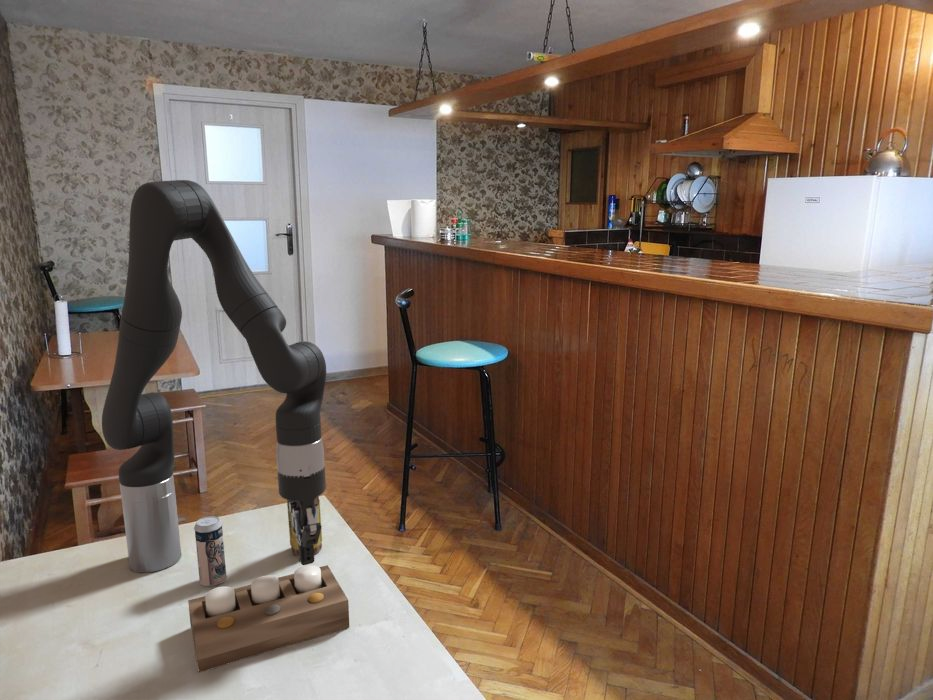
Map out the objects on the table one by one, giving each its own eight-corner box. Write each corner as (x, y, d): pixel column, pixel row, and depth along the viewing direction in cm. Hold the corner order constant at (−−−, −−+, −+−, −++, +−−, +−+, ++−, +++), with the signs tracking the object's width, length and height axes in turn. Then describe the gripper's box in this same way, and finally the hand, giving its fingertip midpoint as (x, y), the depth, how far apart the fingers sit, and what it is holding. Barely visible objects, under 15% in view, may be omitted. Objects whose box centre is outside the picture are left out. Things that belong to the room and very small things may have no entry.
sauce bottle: (298, 541, 135) (292, 450, 131) (327, 543, 134) (322, 451, 130) (285, 558, 129) (278, 462, 124) (315, 560, 128) (310, 464, 124)
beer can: (217, 589, 118) (212, 528, 115) (193, 586, 119) (187, 525, 116) (232, 575, 122) (227, 516, 120) (209, 572, 123) (203, 513, 121)
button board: (190, 627, 107) (188, 598, 106) (328, 590, 117) (327, 563, 116) (198, 672, 97) (195, 640, 95) (349, 627, 107) (348, 598, 106)
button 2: (250, 596, 109) (248, 579, 108) (276, 589, 111) (275, 573, 110) (254, 609, 105) (253, 593, 104) (282, 602, 107) (281, 585, 106)
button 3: (292, 585, 112) (291, 569, 111) (317, 578, 114) (316, 562, 113) (298, 598, 108) (297, 581, 108) (324, 591, 110) (323, 575, 110)
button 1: (205, 607, 106) (203, 590, 105) (233, 600, 108) (232, 583, 107) (208, 622, 102) (206, 605, 101) (237, 614, 104) (236, 597, 103)
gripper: (269, 456, 111) (276, 550, 114) (286, 484, 99) (293, 587, 103) (313, 448, 114) (318, 540, 117) (335, 474, 102) (340, 575, 106)
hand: (306, 562), depth 110 cm, fingers closed
